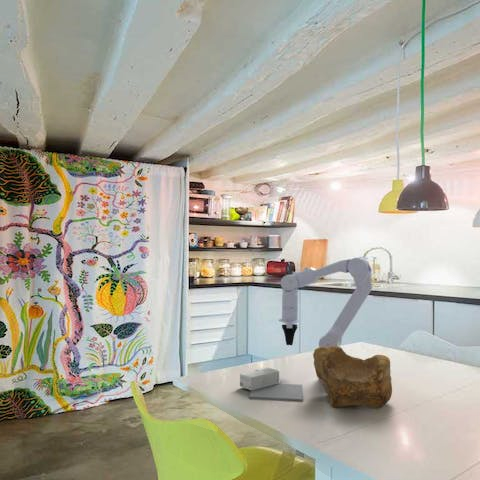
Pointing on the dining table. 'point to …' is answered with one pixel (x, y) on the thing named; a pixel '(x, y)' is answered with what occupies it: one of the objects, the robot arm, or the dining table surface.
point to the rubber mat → (279, 392)
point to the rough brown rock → (353, 378)
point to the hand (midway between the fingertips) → (289, 344)
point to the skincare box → (259, 378)
